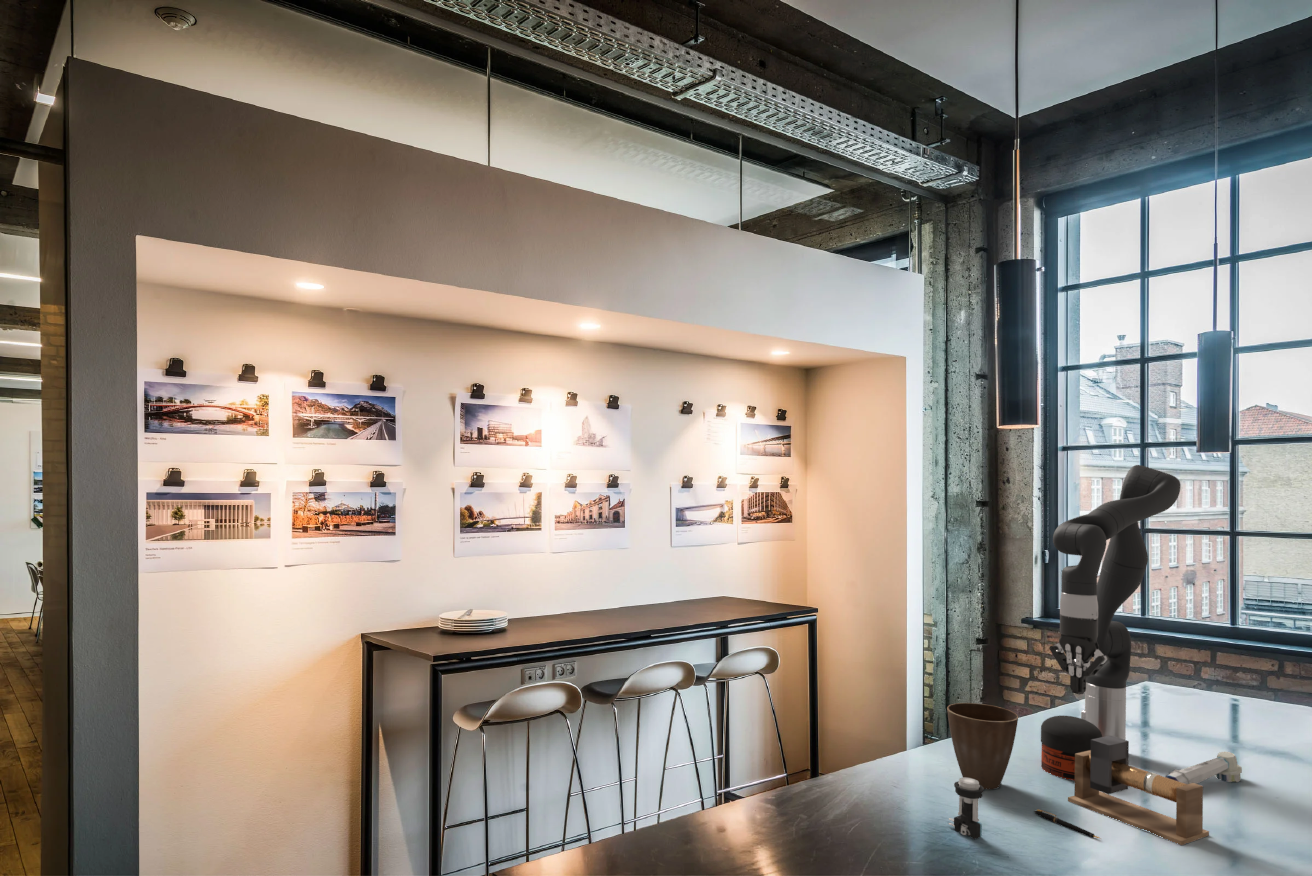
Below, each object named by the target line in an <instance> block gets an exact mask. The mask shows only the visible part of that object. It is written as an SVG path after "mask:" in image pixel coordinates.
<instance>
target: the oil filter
mask: <svg viewBox="0 0 1312 876" xmlns="http://www.w3.org/2000/svg"><path fill="white" fill-rule="evenodd" d="M1101 737H1102V734H1101V731H1100V730H1099V729H1098V728H1097V727H1096V726H1095V725H1094V724H1092V723H1090V722H1089V721H1086V720H1084V719H1081V717H1077V716H1071V715H1054V716H1050V717H1048V718H1046V719H1045V720H1043V722H1042V724H1041V725H1040V742H1041V756H1040V757H1041V760H1040V762H1041V763H1040V765H1041V766H1040V767H1042V768H1041V769H1042V770H1043V771H1044V770H1045V771H1044V772H1046V773H1047V772H1048V773H1047V774H1049V773H1051V774H1052V776H1054V775H1055V776H1054V777H1057V776H1058V778H1060V777H1062V778H1061V779H1064V778H1066V779H1065V780H1068V779H1070V781H1074V782H1075V754H1076V753H1081V752H1085V751H1089V750H1091V740H1092V739H1096V738H1101ZM1051 774H1050V775H1051Z"/></svg>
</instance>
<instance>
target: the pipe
mask: <svg viewBox="0 0 1312 876" xmlns="http://www.w3.org/2000/svg"><path fill="white" fill-rule="evenodd" d="M1090 765H1091V754H1090V755H1089V756H1088V757H1087V759H1086V769H1087V771H1088V772H1090ZM1111 780H1113V781H1116V782H1119V783H1121V784H1124V785H1127V786H1128V787H1129V788H1130V787H1131V788H1133V789H1136V790H1139V791H1141V792H1145V793H1147V794H1149V795H1152V796H1155V797H1159V798H1162V799H1165V800H1167V801H1171V802H1173V803H1176V789H1177V787H1180V786H1184V785H1187V784H1184V783H1181V782H1178V781H1175V780H1172V779H1169V778H1166V777H1165V776H1163V775H1160V774H1158V773H1155V772H1153V771H1152V772H1151V771H1147V770H1144V769H1141V768H1138V767H1135V766H1132V765H1130V764H1128V765H1126V764H1123V763H1120V762H1117V761H1112V779H1111Z"/></svg>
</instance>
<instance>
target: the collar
mask: <svg viewBox="0 0 1312 876" xmlns="http://www.w3.org/2000/svg"><path fill="white" fill-rule="evenodd" d="M1129 749H1130V748H1129V740H1124V739H1120V738H1117V737H1114V736H1105V737H1101V738H1096V739H1092V740H1091V765H1090V788H1093V789H1095V790H1098V791H1100V792H1103V793H1106V794H1108V795H1111V794H1115V793H1118V792H1122V791H1125V790H1126V791H1127V790H1129V786H1127V785H1124V784H1121V783H1119V782H1116V781H1113V780H1111V779H1112V761H1117V762H1120V763H1123V764H1126V765H1129V757H1130V756H1129V755H1130V754H1129V751H1130V750H1129Z"/></svg>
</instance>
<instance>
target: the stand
mask: <svg viewBox="0 0 1312 876" xmlns="http://www.w3.org/2000/svg"><path fill="white" fill-rule="evenodd" d="M1090 754H1091V750H1089V751H1085V752H1081V753H1076V754H1075V781H1074V795H1072V796H1068V797H1067V802H1070V803H1072V804H1074V805H1077V806H1079V807H1081V808H1084V809H1087V810H1090V811H1092V812H1094V811H1095V813H1097V812H1098V813H1097V814H1100V815H1102V814H1104V815H1103V816H1105V817H1107V816H1109V817H1108V818H1110V817H1111V819H1112V818H1114V819H1113V820H1115V819H1117V820H1116V821H1118V820H1120V821H1122V822H1121V823H1123V822H1124V823H1123V824H1125V823H1127V824H1126V825H1128V824H1130V825H1133V826H1135V827H1138V828H1140V829H1139V830H1141V829H1144V830H1147V831H1150V832H1151V833H1154V834H1156V835H1158V836H1157V837H1159V836H1161V837H1163V838H1162V839H1164V840H1166V839H1168V840H1167V841H1169V840H1170V842H1171V841H1172V843H1174V842H1175V843H1174V844H1177V843H1178V844H1177V845H1179V846H1183V845H1187V844H1189V843H1192V842H1195V841H1198V840H1200V839H1203V838H1206V837H1208V836H1210V831H1209V830H1206V829H1204V828H1203V827H1204V826H1203V825H1204V824H1203V822H1204V821H1203V819H1204V816H1203V813H1204V811H1203V810H1204V803H1203V801H1204V786H1203V785H1201V784H1199V783H1197V784H1195V783H1191V784H1187V785H1184V786H1180V787H1177V789H1176V802H1175V803H1176V807H1175V808H1176V809H1175V813H1176V814H1175V818H1174V817H1171V816H1168V815H1165V814H1164V813H1160V812H1157V811H1154V810H1152V809H1149V808H1146V807H1143V806H1141V805H1137V804H1135V803H1133V802H1130V801H1127V800H1125V799H1122V798H1118V797H1116V796H1114V795H1111V794H1106V793H1104V792H1101V791H1098V790H1095V789H1093V788H1090V772H1088V771H1087V769H1086V759H1087V757H1088V756H1089V755H1090ZM1120 821H1119V822H1120ZM1130 825H1129V826H1130ZM1133 826H1132V827H1133ZM1135 827H1134V828H1135ZM1138 828H1137V829H1138ZM1151 833H1150V834H1151ZM1156 835H1155V836H1156ZM1161 837H1160V838H1161ZM1186 843H1187V844H1186Z"/></svg>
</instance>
